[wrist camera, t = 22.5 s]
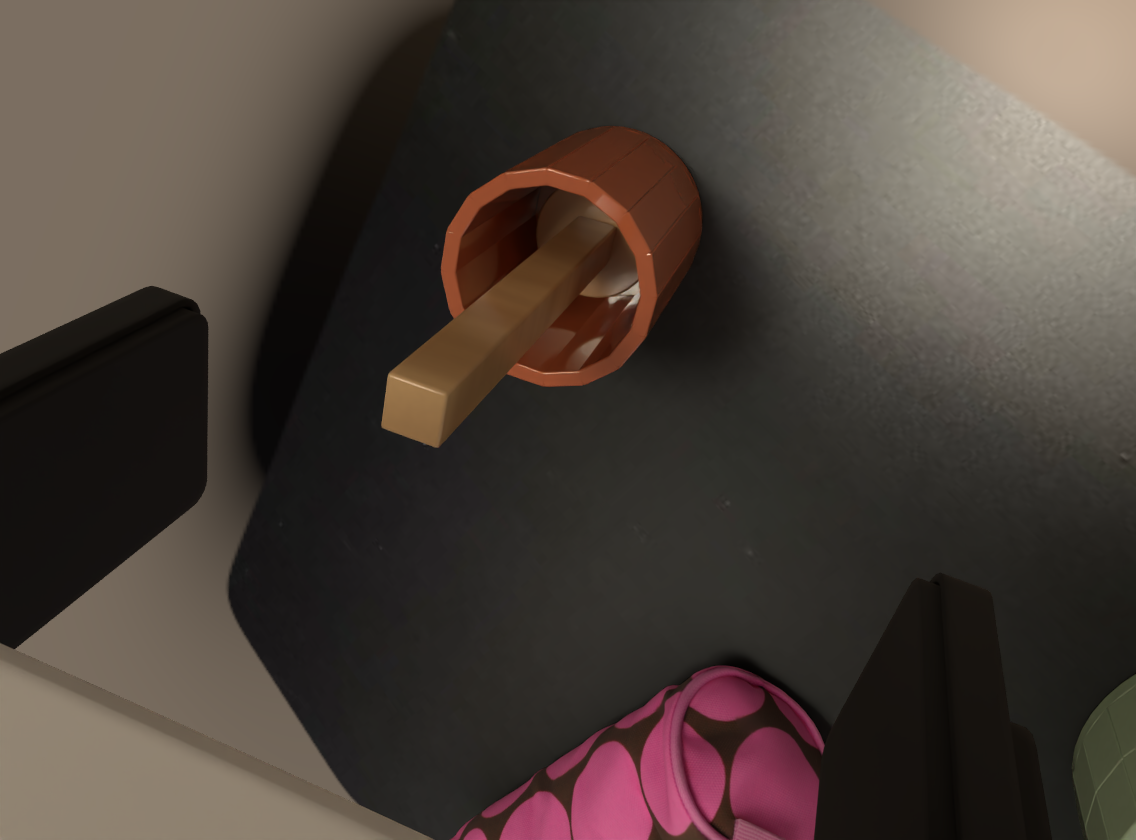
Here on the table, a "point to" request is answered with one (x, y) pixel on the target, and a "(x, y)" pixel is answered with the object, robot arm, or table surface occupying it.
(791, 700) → the pencil case
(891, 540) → the table surface
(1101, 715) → the bowl
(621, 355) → the crock
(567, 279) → the wooden post with base
